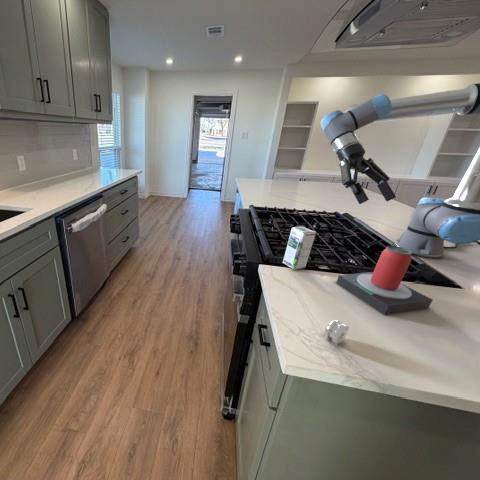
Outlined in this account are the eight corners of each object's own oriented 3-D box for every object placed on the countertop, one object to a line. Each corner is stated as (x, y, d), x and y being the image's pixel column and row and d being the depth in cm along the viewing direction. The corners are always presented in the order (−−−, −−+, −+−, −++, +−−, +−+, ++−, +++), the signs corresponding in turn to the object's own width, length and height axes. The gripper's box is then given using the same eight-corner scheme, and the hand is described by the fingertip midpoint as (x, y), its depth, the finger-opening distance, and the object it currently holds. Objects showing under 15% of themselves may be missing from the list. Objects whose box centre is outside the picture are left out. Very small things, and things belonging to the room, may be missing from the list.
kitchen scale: (374, 278, 87) (378, 269, 86) (428, 308, 73) (434, 298, 72) (336, 283, 84) (339, 273, 83) (384, 314, 70) (389, 304, 68)
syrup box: (281, 262, 96) (290, 227, 90) (294, 260, 98) (303, 225, 92) (293, 270, 91) (303, 233, 85) (306, 268, 93) (317, 231, 87)
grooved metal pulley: (333, 347, 58) (340, 331, 56) (320, 339, 61) (326, 323, 59) (344, 339, 61) (351, 323, 59) (331, 331, 63) (337, 315, 61)
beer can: (402, 292, 74) (420, 256, 69) (377, 289, 75) (393, 253, 70) (388, 280, 80) (404, 246, 75) (365, 277, 81) (379, 243, 76)
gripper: (362, 156, 98) (390, 203, 91) (314, 156, 90) (341, 208, 83) (382, 142, 92) (414, 192, 85) (332, 141, 84) (363, 196, 77)
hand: (378, 200), depth 84 cm, fingers open, 13 cm apart
